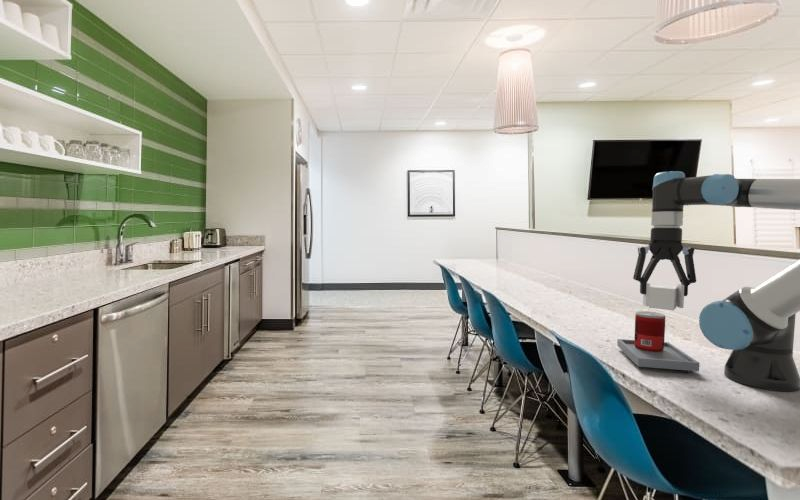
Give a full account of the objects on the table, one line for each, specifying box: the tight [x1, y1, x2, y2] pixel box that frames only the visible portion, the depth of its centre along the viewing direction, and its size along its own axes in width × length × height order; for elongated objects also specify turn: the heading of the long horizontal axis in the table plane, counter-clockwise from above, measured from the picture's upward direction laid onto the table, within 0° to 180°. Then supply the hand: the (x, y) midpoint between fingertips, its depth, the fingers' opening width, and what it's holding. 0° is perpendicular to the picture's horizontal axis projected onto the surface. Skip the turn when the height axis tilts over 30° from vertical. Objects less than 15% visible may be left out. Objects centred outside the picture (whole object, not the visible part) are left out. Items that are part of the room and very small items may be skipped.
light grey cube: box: [648, 284, 677, 311], centre depth 119 cm, size 6×6×6 cm
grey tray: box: [616, 338, 700, 373], centre depth 124 cm, size 21×15×4 cm
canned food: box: [633, 310, 666, 352], centre depth 128 cm, size 8×8×11 cm
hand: (662, 306), depth 119 cm, fingers closed on light grey cube, 8 cm apart
